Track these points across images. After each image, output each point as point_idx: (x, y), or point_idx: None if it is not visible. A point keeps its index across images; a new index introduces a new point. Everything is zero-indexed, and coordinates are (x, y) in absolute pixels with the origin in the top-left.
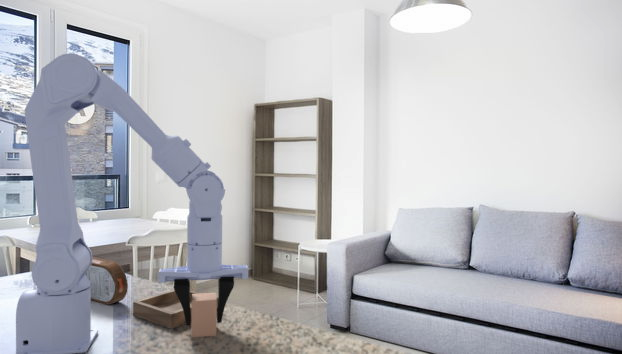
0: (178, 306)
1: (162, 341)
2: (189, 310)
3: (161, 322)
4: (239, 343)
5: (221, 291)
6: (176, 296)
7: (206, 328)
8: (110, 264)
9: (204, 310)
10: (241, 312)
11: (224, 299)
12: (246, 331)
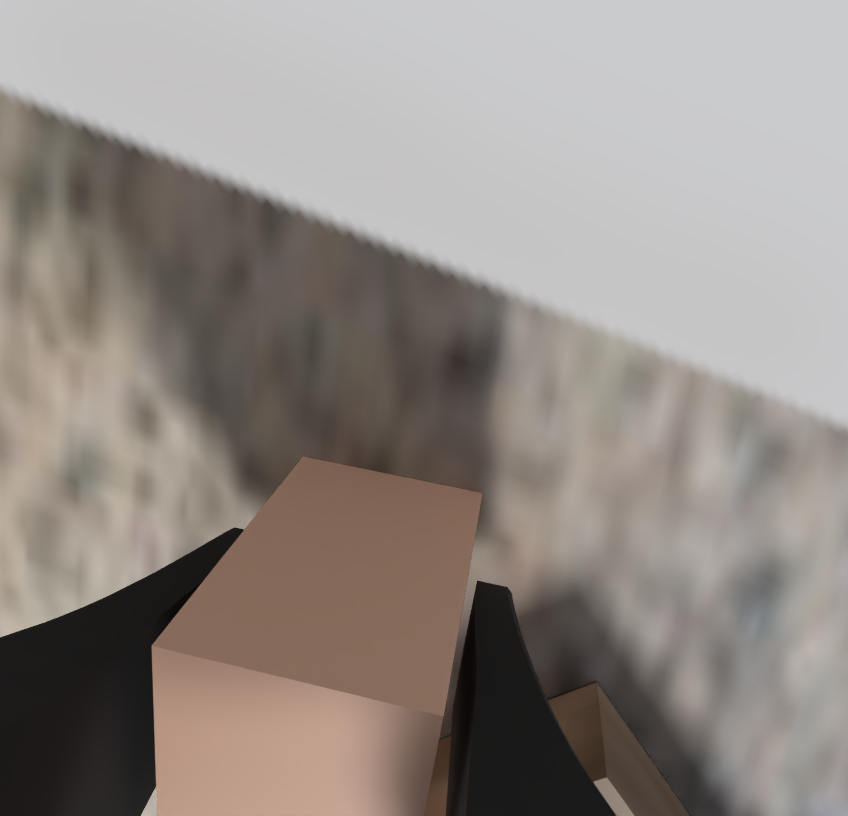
0: None
1: (705, 507)
2: (475, 661)
3: (656, 779)
4: (150, 245)
5: (16, 696)
6: None
7: (358, 497)
8: None
9: (328, 601)
10: None
11: (69, 630)
12: (92, 434)
